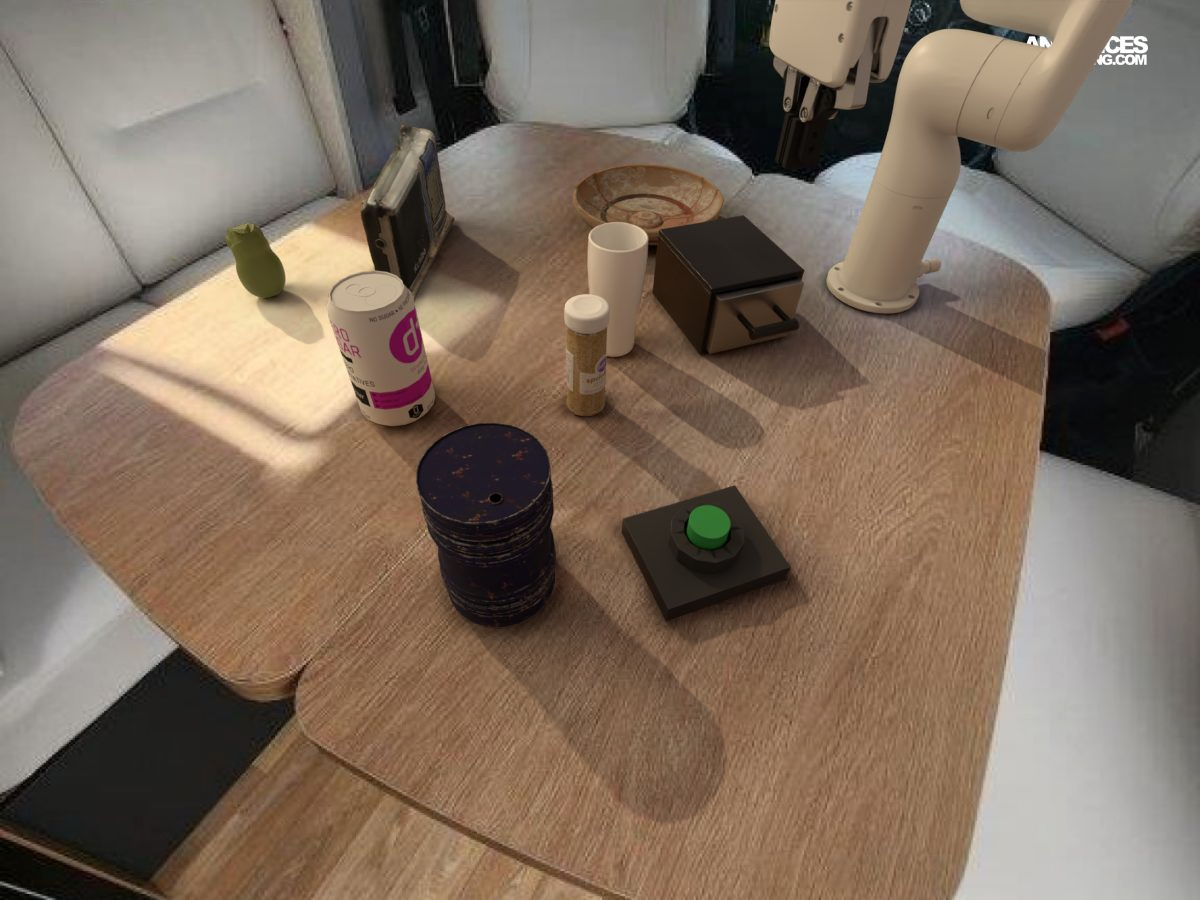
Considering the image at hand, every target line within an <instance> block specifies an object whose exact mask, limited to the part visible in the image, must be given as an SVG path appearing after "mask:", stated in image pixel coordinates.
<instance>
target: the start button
mask: <svg viewBox="0 0 1200 900" xmlns="http://www.w3.org/2000/svg"><path fill="white" fill-rule="evenodd" d="M730 525H731V524H730V519H729V517H728V515H727V514H726V513H725V512H724V511H723V510H721V509H720V508H718V507H715V506H710V505H704V506H700V507H697V508H696V509H694V510H693V511H692V512H691V514H690V517H689V521H688V526H687V535H688V538H689V539H690V541H691V542H692V543H693V544H694V545H696V546H697V547H699V548H702V549H706V550H713V549H717V548H719V547H721V546H722V545H723V544H724V543H725V542H726V540H727V536H728V533H729V530H730Z"/></svg>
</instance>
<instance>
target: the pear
mask: <svg viewBox="0 0 1200 900" xmlns="http://www.w3.org/2000/svg"><path fill="white" fill-rule="evenodd" d="M225 243H226V245H227V247H229V249H230V251H231V252H232V255H233V257H234V260H235V271H236V275H237V277H238V279H239V281H240V283H241V285H242V286H243V288H244V289H245V290H246V291H247V292H249V293H250V294H251V295H253V296H254V297H258V298H260V299H261V298H263V299H266V298H272V297H275V296H277V295H279V294H280V293H281V292H283V290H284V288H285V286H286V279H287V278H286V272H285V268H284V264H283V263H282V261H281V259H280V258H279V255H277V254H276V253H275V252H274V251H273V249H272V248H271V245H270V242H269V241H268V239H267V237H266V236H265V234H264V232H263V230H262V229H261V228H260V227H258V226H256V225H255V223H253V222H252V221H251V222H249V221H248V222H245V223H243V224H239V225H236V226H232V227H229V228H227V229H226V237H225Z"/></svg>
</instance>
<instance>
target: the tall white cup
mask: <svg viewBox="0 0 1200 900" xmlns="http://www.w3.org/2000/svg"><path fill="white" fill-rule="evenodd" d="M586 254H587V255H586V256H587V257H586V264H587V265H586V266H587V283H588V284H587V285H588V294H591V295H596V296H599V297H601V298H603V299H604V300H606V301H607V303H608V304H609V307H610V317H609V324H608V326H607V348H606V356H607V357H609V358H617V357H619V358H620V357H623V356H626V355H627V354H629V353H630V352H631V351H632V350H633V348H634V347H635V346H634V345H635V341H636V337H635V336H636V330H637V323H638V319H639V313H640V307H641V303H642V298H643V296H642V295H643V291H644V288H645V287H644V286H645V283H646V276H647V268H648V260H649V259H648V258H649V257H648V255H649V245H648V235H647V233H646V232H645V231H644V230H643V229H641V228H640V227H638V226H635V225H632V224H628V223H622V222H611V223H605V224H601V225H599V226H597V227H595V228H591V230H590V231H589V233H588V238H587V253H586Z"/></svg>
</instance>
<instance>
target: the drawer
mask: <svg viewBox="0 0 1200 900" xmlns="http://www.w3.org/2000/svg"><path fill="white" fill-rule="evenodd" d="M804 285H805V282H804V281H803V279H802V280H801V279H800V278H795V279H790V280H786V279H784V280H779V281H775V282H770V283H765V284H760V285H755V286H750V287H745V288H740V289H736V290H731V291H726V292H721V293H717V295H715V301H714V306H713V311H712V317H711V322H710V327H709V333H708V338H707V343H706V350H707V351H708V352H709V353H708V354H710V355H711V354H717V353H720V352H725V351H729V350H732V349H737V348H741V347H745V346H750V345H754V344H758V343H764V342H767V341H772V340H775V339H780V338H784V337H788V336H789V334H790V333H792V332H795V331H798V330H799V328H800V322H799V320H798V319H797V318H795V314H796V311H797V308H798V304H799V301H800V298H801V296H802V291H803V288H804Z"/></svg>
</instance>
